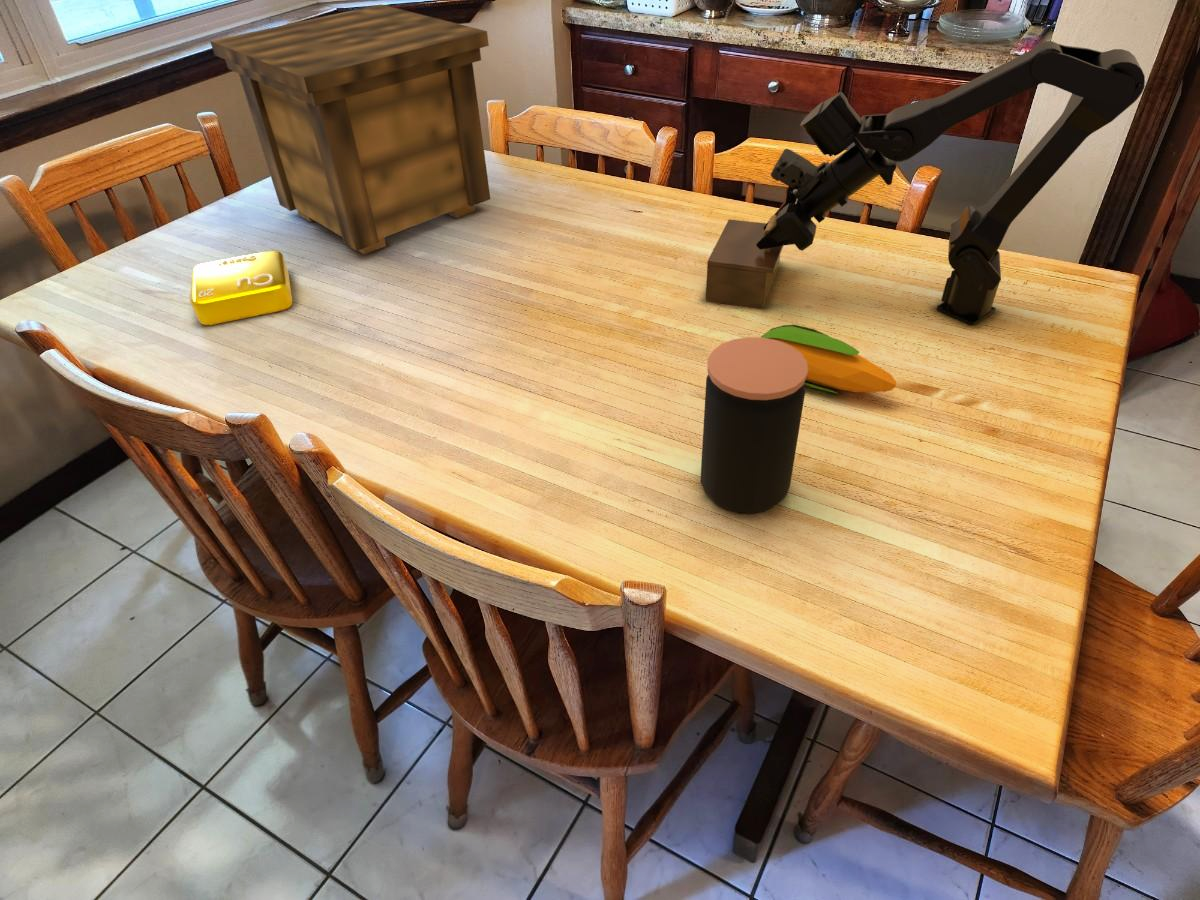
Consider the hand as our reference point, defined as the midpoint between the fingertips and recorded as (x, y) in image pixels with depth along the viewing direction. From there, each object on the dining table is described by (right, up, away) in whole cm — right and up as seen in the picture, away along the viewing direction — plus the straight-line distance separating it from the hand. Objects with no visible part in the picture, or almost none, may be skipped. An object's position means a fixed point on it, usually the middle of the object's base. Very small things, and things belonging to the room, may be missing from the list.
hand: (761, 238), depth 128 cm
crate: (-69, +14, +33) cm, 78 cm away
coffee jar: (-9, -39, -32) cm, 51 cm away
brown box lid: (-2, -1, +2) cm, 2 cm away
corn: (+5, -25, -16) cm, 30 cm away
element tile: (-87, -8, +9) cm, 88 cm away
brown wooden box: (-2, -6, +6) cm, 9 cm away
